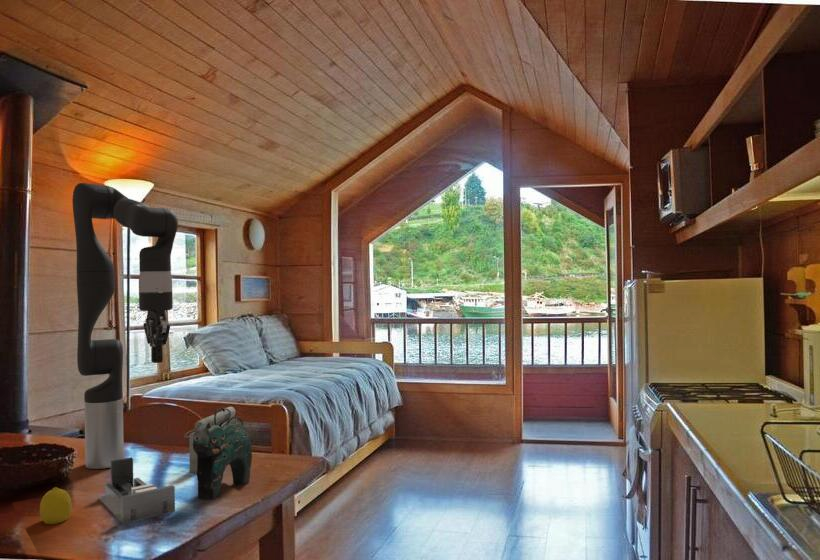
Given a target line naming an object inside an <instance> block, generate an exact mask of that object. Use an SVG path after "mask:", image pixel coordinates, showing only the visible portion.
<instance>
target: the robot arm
mask: <svg viewBox="0 0 820 560" xmlns="http://www.w3.org/2000/svg"><path fill="white" fill-rule="evenodd" d="M72 213H73V223H74V224H73V225H74V230H75V231H74V232H75V243H76V291H77V292H76V293H77V309H78V310H77V312H78V314H77V315H78V316H77V317H78V321H77V322H78V324H77V327H78V328H77V352H76V353H77V354H76V355H77V356H76V358H77V359H76V360H77V361H76V362H77V369H78V372H79V374H80V375H81V376H84V377H88V376H100V375H108V377H107V378H106V379H105V380H104V381H103V382H100V383H99V384H97V385H94V386H92V387H90V388H88V389H86V390H85V392H84V394H83V401H84V440H85V441H84V443H85V444H84V447H85V449H84V451H85V452H84V453H85V455H84V457H85V468H87V469H89V470H90V469H92V470H100V469H107V468H110V469H111V463H110V461H114V460H119V459H125V452H124V448H125V447H124V403H123V402H124V399H123V396H124V395H123V370H124V369H123V367H124V366H123V365H124V348H123V343H122V342H121V341H120V339H117V338H113V339H112V338H111V339H95V340H93V339H91V338H92V333H93V331H94V328H95V325H96V323H97V321H98V319H99V317H100V316H101V314H102V313H103V311H104V310H105V308H106V307H107V306H108V304H109V302H110V301H111V299H112V298H113V295H114V294H115V291H116V273H115V272H116V271H115V270H116V269H115V265H114V263H113V260H112V259H111V257H110V255H109V254H108V252H107V251H106V250H105V249H104V247H103V245H102V244H101V243H100V240H99V239H98V237H97V235H96V233H95V230H94V225H93V219H99V220H111V219H112V220H113V219H115V221H116V222H117V223H118V224H120V225H121V226H123V227H125V228H128V229H130V230H131V232H132V234H134V235H135V236H138V237H147V238H157V241H156V242H155V244H154V245H152V246H147V247H143V248H141V249H140V250H139V258H138V259H139V262H138V263H139V277H138V309H139V311H142V312H147V313H146V318H145V322H144V323H143V325H142V326H143V329H144V333H145V338H146V342H147V344H148V345H149V347H150V350H151V351H150V360H151V363H153V364H159V363H161V364H162V363H163V362H164V361H163V360H164V359H163V358H164V357H163V356H164V355H163V353H164V352H163V347H164V346H165V345H167V341H168V337H169V333H170V330H171V325H170V324H169V323H168V318H167V316H166V311H171V310H173V306H174V304H173V278H172V263H171V259H172V258H171V255H172V250H173V248H174V247H173V246H174V242H175V238H176V235H177V231H178V226H179V221H178V217H177V214H175V212H174V211H173V210H172V209H171V208H170V209H169V208H165V207H164V208H163V207H162V208H161V207H151V206H149V205H147V204H146V203H143V202H141V201H138V200H136V199H135V200H134V199H131V198H128V197H127V196H126V195H124V194H123V193H122V192H121V191H119V190H118V189H117V188H114V187H112V186H109V185H104V184H99V183H97V184H96V183H89V182H80V183H77V184H76V185H75V186H74V189H73V191H72Z"/></svg>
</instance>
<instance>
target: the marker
mask: <svg viewBox="0 0 820 560" xmlns="http://www.w3.org/2000/svg"><path fill="white" fill-rule="evenodd" d="M146 484H147V483H146ZM157 488H158V487H156V485H155V484H152V483H148V484H147V485H142V486H138V487H134V486H133V488H131V494H134V493H138V492H143V491H148V490H152V489H157Z"/></svg>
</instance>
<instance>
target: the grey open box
mask: <svg viewBox="0 0 820 560" xmlns="http://www.w3.org/2000/svg"><path fill="white" fill-rule="evenodd" d="M142 485H147V483H146V482H144V481H143V480H142V479H141V478H139V477H135V478H134V477H133V487H138V486H142ZM175 487H176V486H174V485H173V484H171V485H167V486H163V487H157V489H152V490H148V491H143V492H138V493H134V494H129V495H124V496H123V495H122V494H121V493H120V492H119V491H118V490H117V489H115V488H114V487H113V486H112V485H111V482H110V483H109V482H108V483H105V484H104V495H103V496H97V498H98V499H99V501H101V503H102V504H103V505H104V506H105V507H106V508H107V509H108V510H109V511H110V512H111V513H112V514H113V515H114V516H115V518H116V519H118V521H120V522H121V524H122V525H124V524H127V523H128V524H129V523H132V522H136V521H140V520H143V519H149V518H154V517H156V516H161V515H165V514H169V513H173V512H174V513H175V512H176V503H175V502H176V497H175V496H176V494H175V493H176V492H175V490H176V488H175Z"/></svg>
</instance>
